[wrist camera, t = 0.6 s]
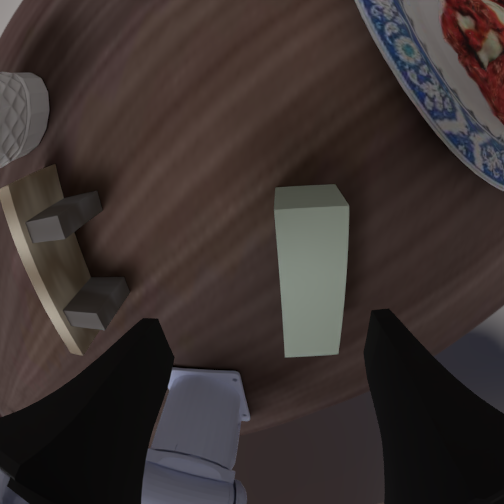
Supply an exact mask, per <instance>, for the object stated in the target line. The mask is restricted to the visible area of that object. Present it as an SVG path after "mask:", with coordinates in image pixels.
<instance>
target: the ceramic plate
mask: <svg viewBox="0 0 504 504" xmlns="http://www.w3.org/2000/svg"><path fill="white" fill-rule="evenodd" d="M354 1H355V3H356V5H357V7H358V10H359V12H360V14H361V17H362V19H363V21H364V22H365V24H366V26H367V28H368V30H369V32H370V34H371V36H372V38H373V40H374V42H375V43H376V45H377V47H378V49H379V51H380V52H381V54H382V56H383V58H384V60H385V61H386V63H387V64H388V66H389V67H390V69H391V70H392V72H393V74H394V75H395V77H396V79H397V80H398V82H399V84H400V85H401V87H402V89H403V90H404V92H405V93H406V94H407V96H408V97H409V98H410V100H411V101H412V102H413V104H414V105H415V107H416V108H417V109H418V111H419V112H420V114H421V115H422V117H423V118H424V119H425V121H426V122H427V123H428V124H429V126H430V127H431V128H432V129H433V131H434V132H435V133H436V135H437V136H438V137H439V138H440V139H441V140H442V141H443V142H444V144H445V145H446V146H447V147H448V148H449V149H450V150H451V151H452V152H453V153H454V154H455V155H456V156H457V157H458V158H459V159H460V160H461V161H462V163H464V164H465V165H466V166H467V167H468V168H469V169H471V170H472V171H473V172H474V173H475V174H476V175H478V176H479V177H481V178H482V179H484V180H485V181H486V182H488V183H489V184H491V185H493V186H494V187H496V188H498V189H500V190H502V191H504V0H354Z"/></svg>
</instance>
